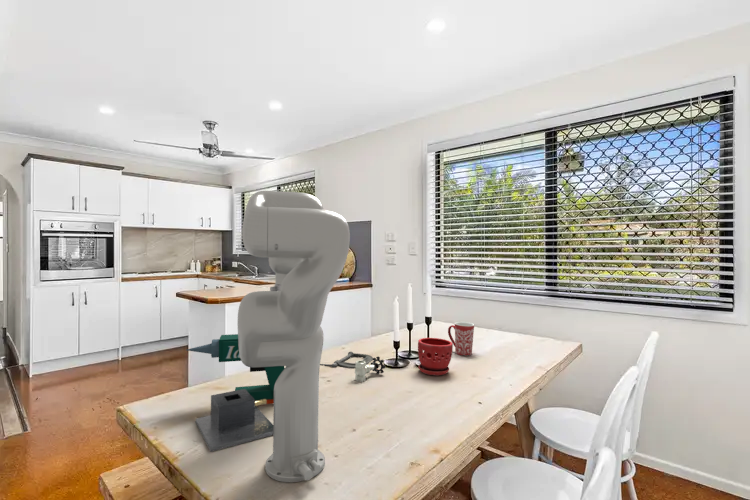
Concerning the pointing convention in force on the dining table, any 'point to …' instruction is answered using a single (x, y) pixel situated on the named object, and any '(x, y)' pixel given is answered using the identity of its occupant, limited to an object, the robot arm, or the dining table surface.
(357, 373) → the valve
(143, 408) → the dining table surface
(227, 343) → the power tool
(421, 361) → the plant pot
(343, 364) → the c clamp
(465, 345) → the mug
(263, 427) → the block
